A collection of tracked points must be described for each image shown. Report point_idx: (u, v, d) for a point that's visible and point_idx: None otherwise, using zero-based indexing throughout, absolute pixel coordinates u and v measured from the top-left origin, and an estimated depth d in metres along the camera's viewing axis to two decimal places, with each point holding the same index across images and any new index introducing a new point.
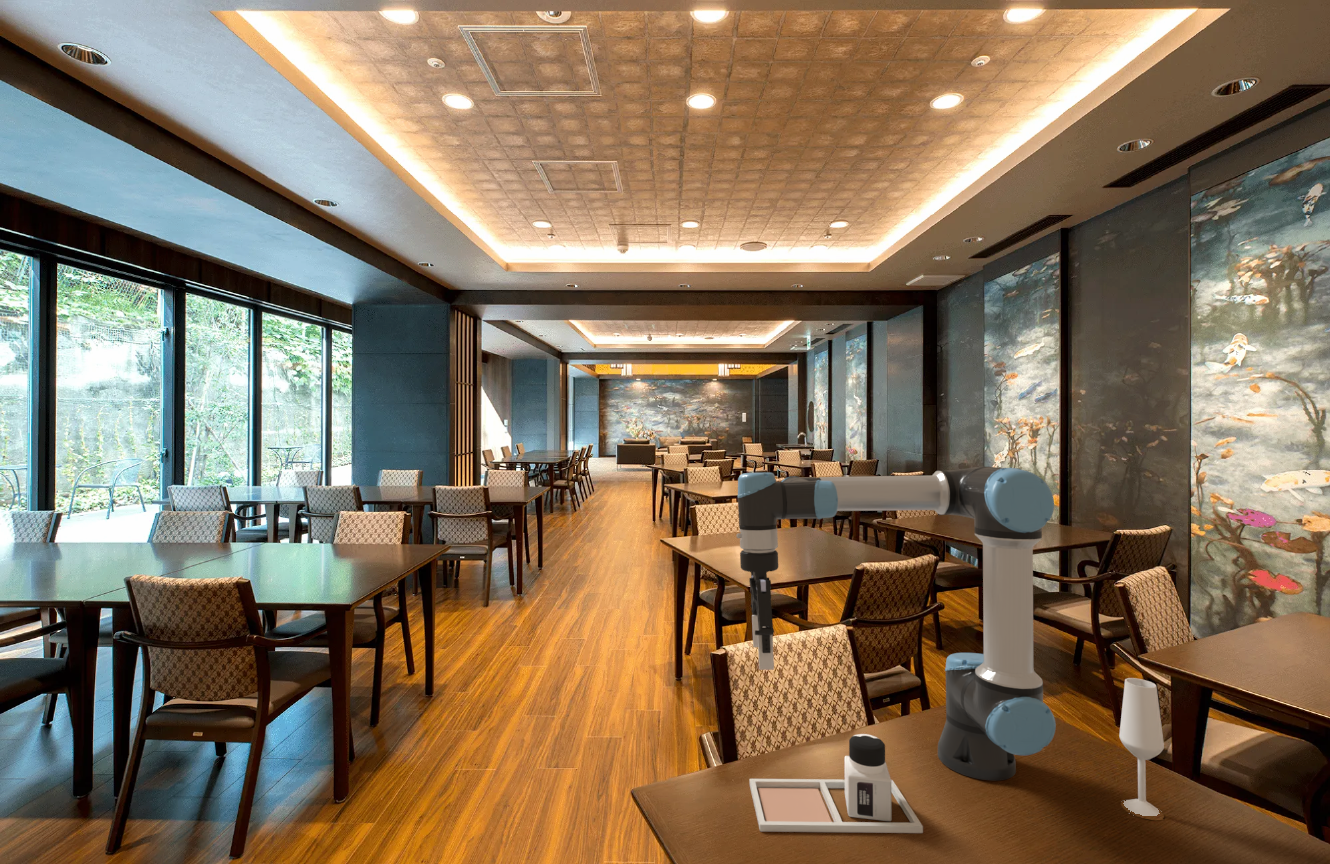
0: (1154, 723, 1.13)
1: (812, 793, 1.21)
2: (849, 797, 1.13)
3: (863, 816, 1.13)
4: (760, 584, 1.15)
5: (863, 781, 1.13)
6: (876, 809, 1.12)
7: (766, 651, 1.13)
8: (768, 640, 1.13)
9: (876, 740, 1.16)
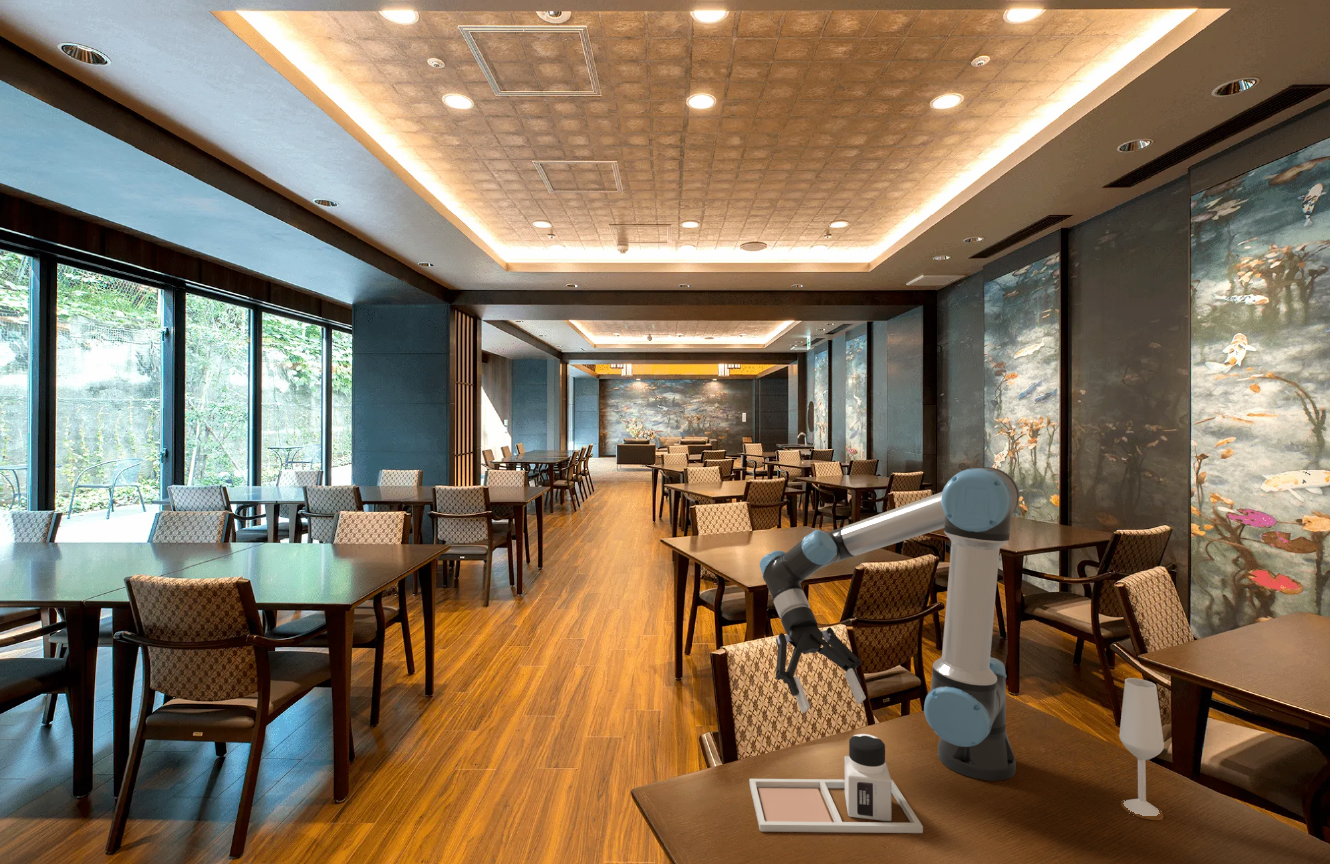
0: (1154, 723, 1.13)
1: (812, 793, 1.21)
2: (849, 797, 1.13)
3: (863, 816, 1.13)
4: (777, 639, 1.35)
5: (863, 781, 1.13)
6: (876, 809, 1.12)
7: (792, 693, 1.26)
8: (789, 682, 1.27)
9: (876, 740, 1.16)
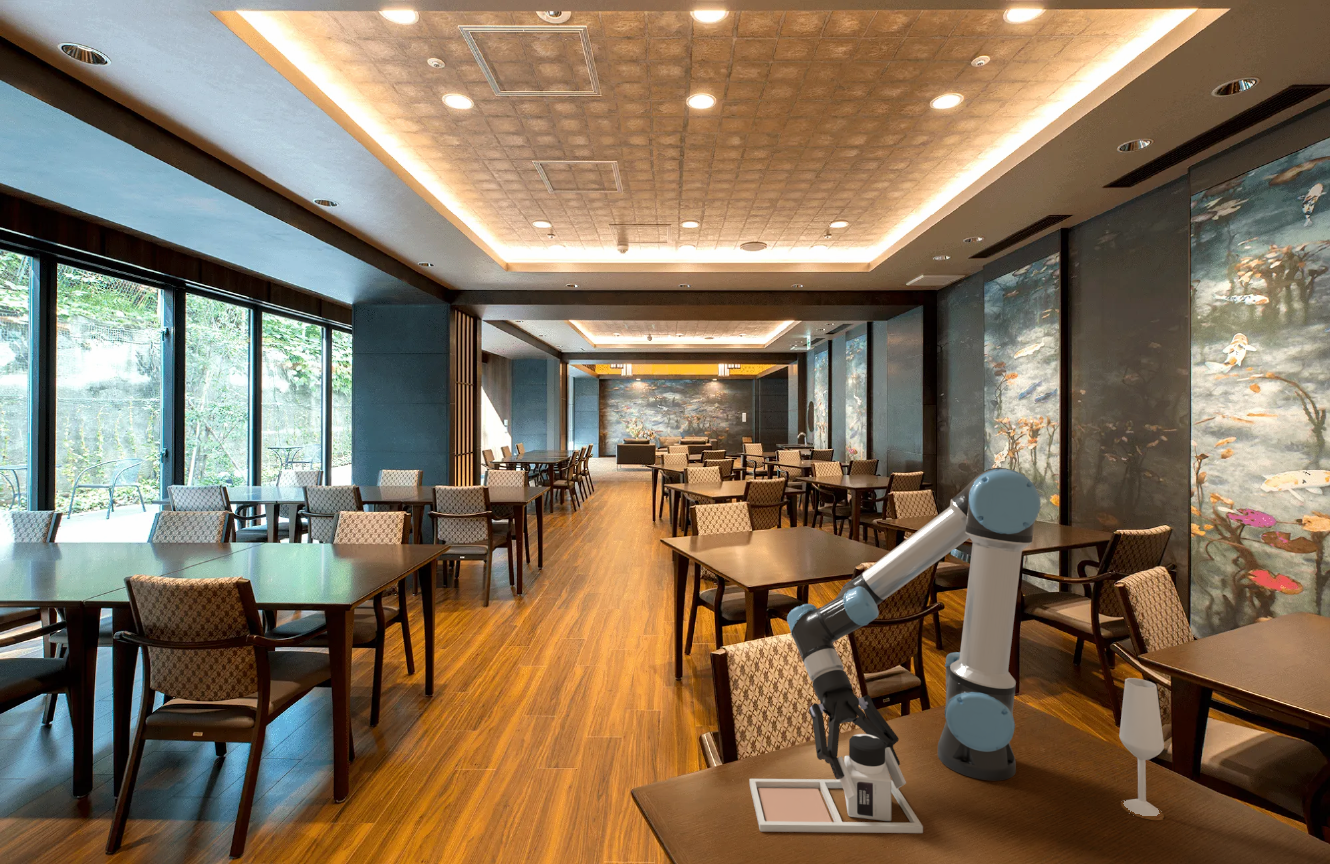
0: (1154, 723, 1.13)
1: (812, 793, 1.21)
2: None
3: (863, 816, 1.13)
4: (810, 710, 1.23)
5: (863, 780, 1.13)
6: (876, 809, 1.12)
7: (837, 776, 1.14)
8: (833, 764, 1.15)
9: (876, 740, 1.16)
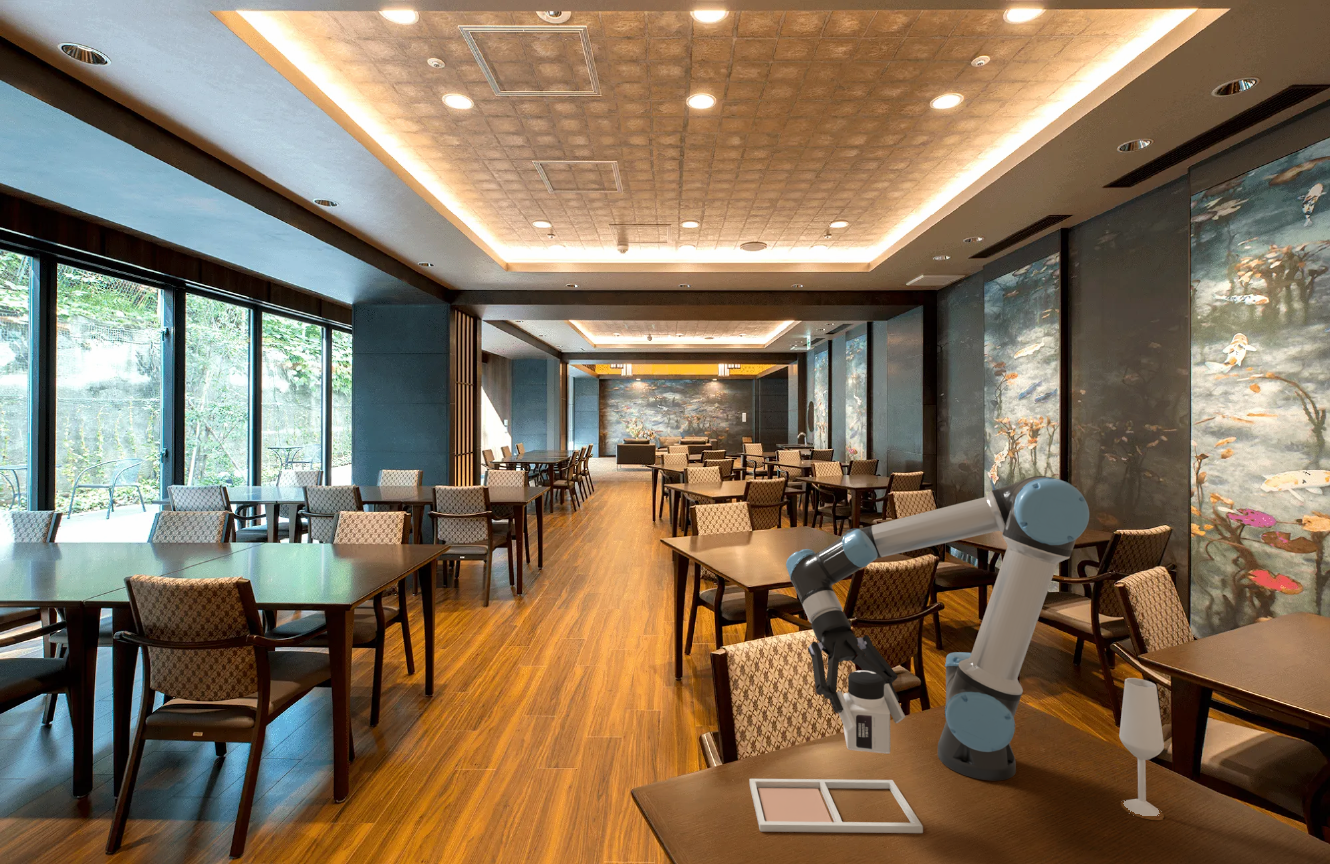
0: (1154, 723, 1.13)
1: (812, 793, 1.21)
2: None
3: (862, 749, 1.13)
4: (809, 649, 1.23)
5: (862, 713, 1.13)
6: (875, 741, 1.13)
7: (836, 710, 1.14)
8: (832, 698, 1.15)
9: (875, 675, 1.16)
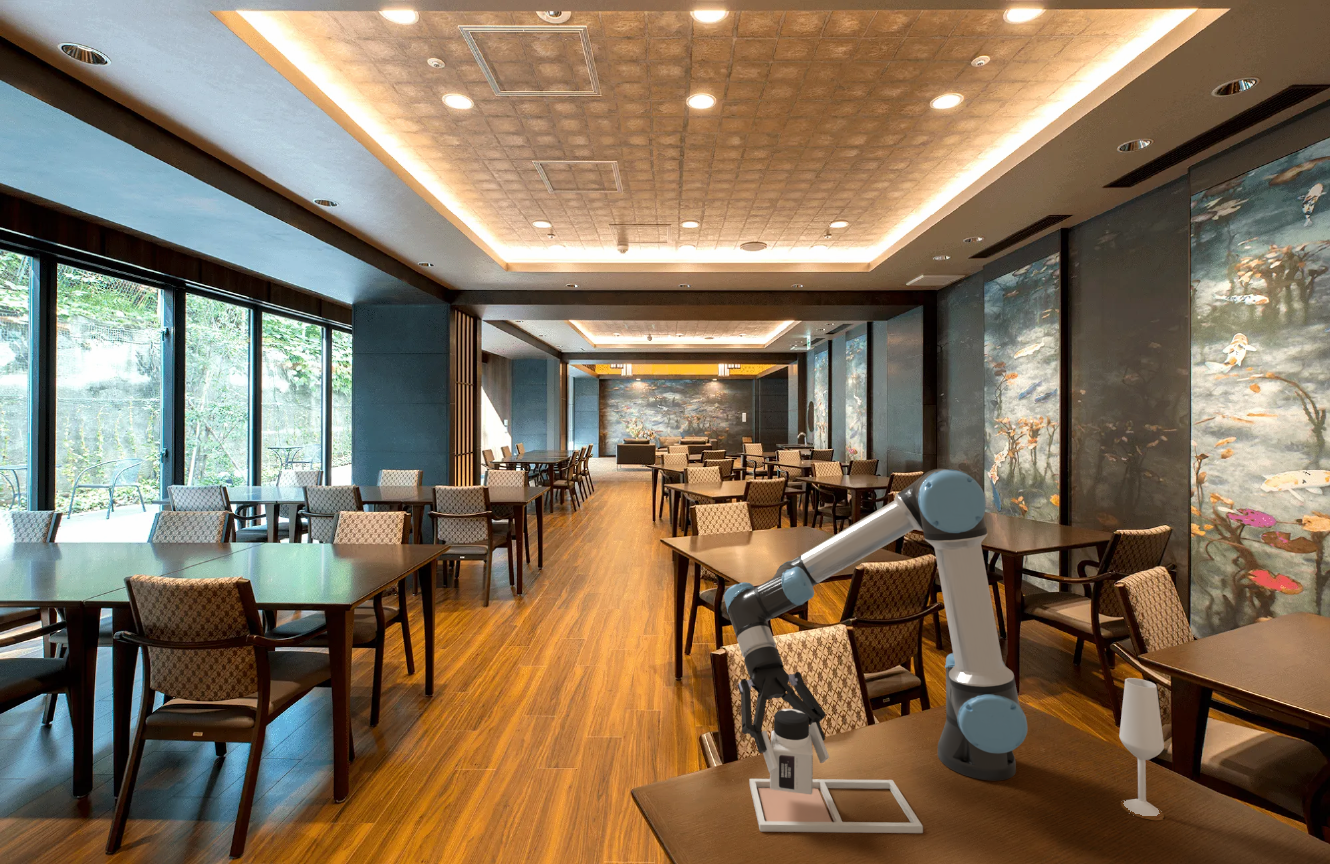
0: (1154, 723, 1.13)
1: (812, 793, 1.21)
2: None
3: (784, 789, 1.13)
4: (739, 686, 1.23)
5: (785, 754, 1.13)
6: (797, 782, 1.13)
7: (760, 750, 1.14)
8: (757, 738, 1.15)
9: (800, 714, 1.16)
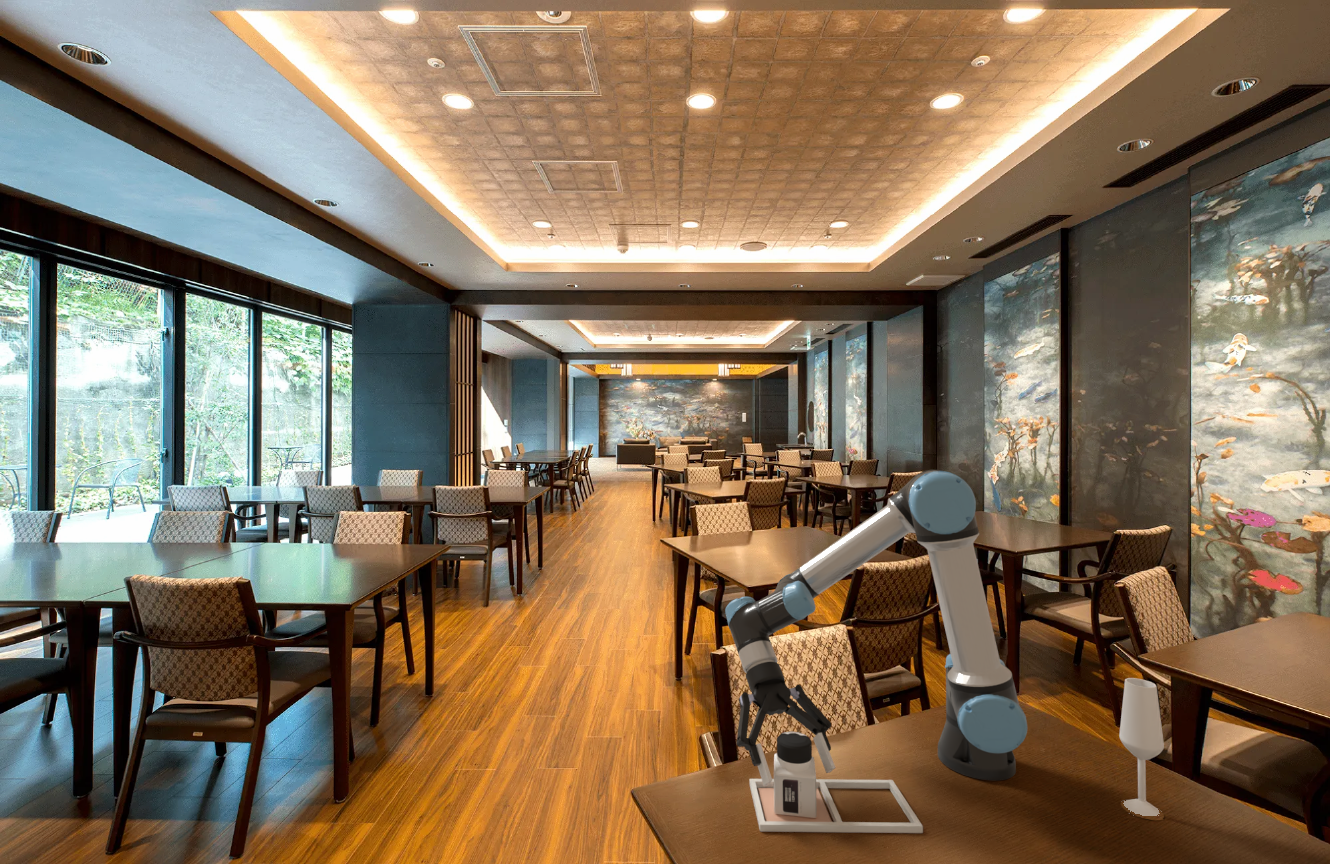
0: (1154, 723, 1.13)
1: None
2: (775, 795, 1.14)
3: (789, 813, 1.13)
4: (740, 699, 1.23)
5: (788, 778, 1.13)
6: (801, 806, 1.13)
7: (754, 763, 1.14)
8: (751, 751, 1.15)
9: (803, 737, 1.16)
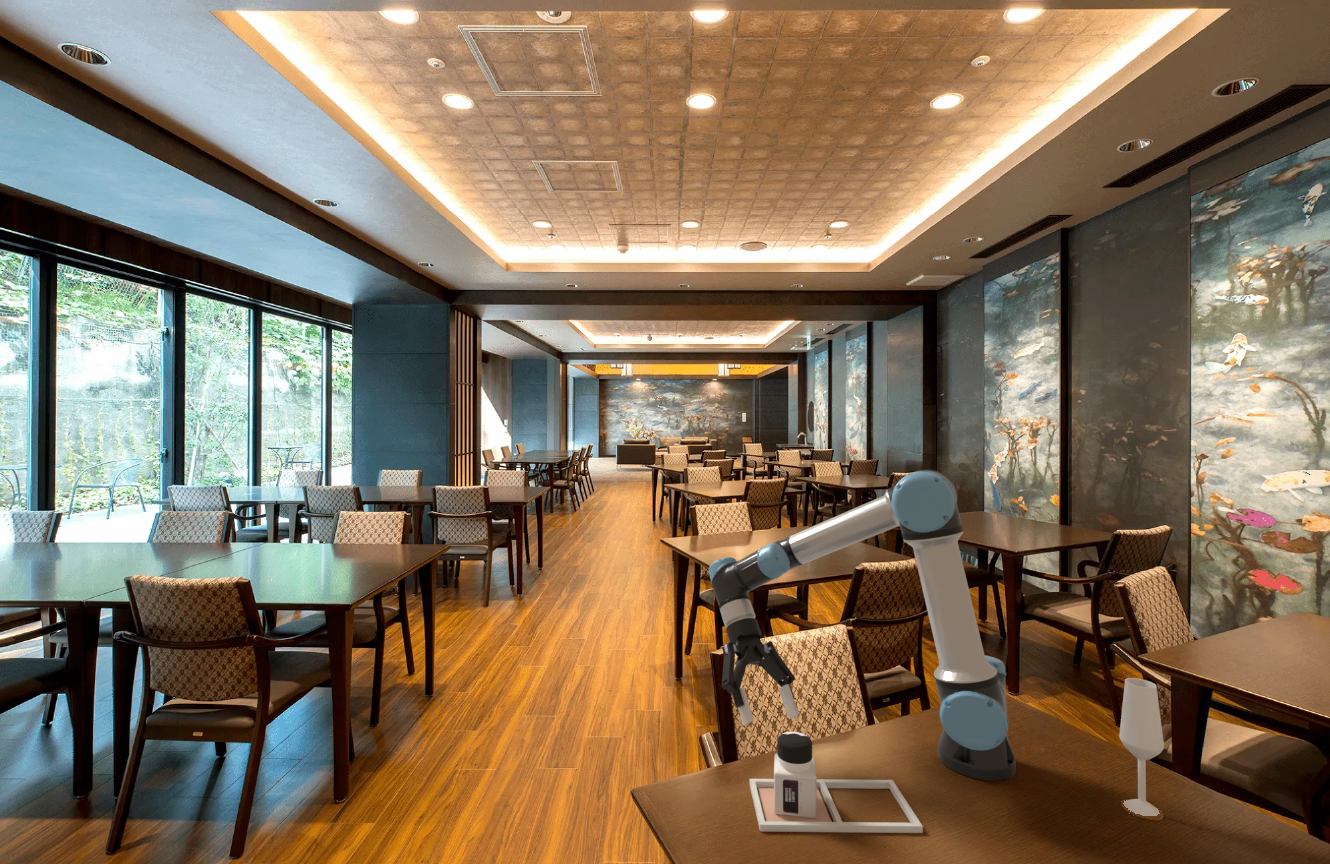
0: (1154, 723, 1.13)
1: None
2: (775, 795, 1.14)
3: (789, 813, 1.13)
4: (724, 648, 1.34)
5: (789, 778, 1.13)
6: (801, 806, 1.13)
7: (737, 704, 1.26)
8: (736, 693, 1.27)
9: (803, 738, 1.16)
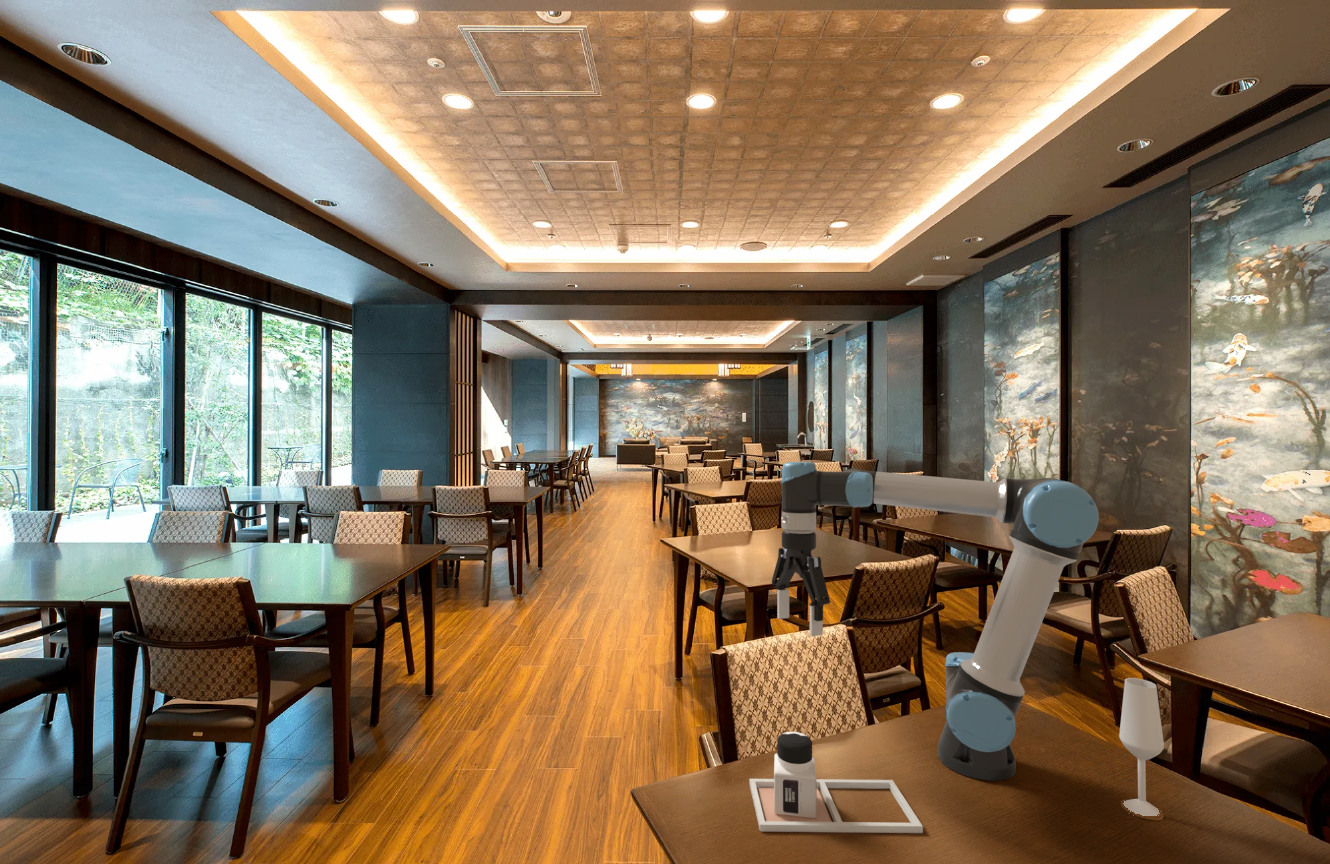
0: (1154, 723, 1.13)
1: None
2: (775, 795, 1.14)
3: (789, 813, 1.13)
4: (813, 561, 1.30)
5: (789, 778, 1.13)
6: (801, 806, 1.13)
7: (820, 619, 1.28)
8: (821, 609, 1.28)
9: (803, 738, 1.16)
